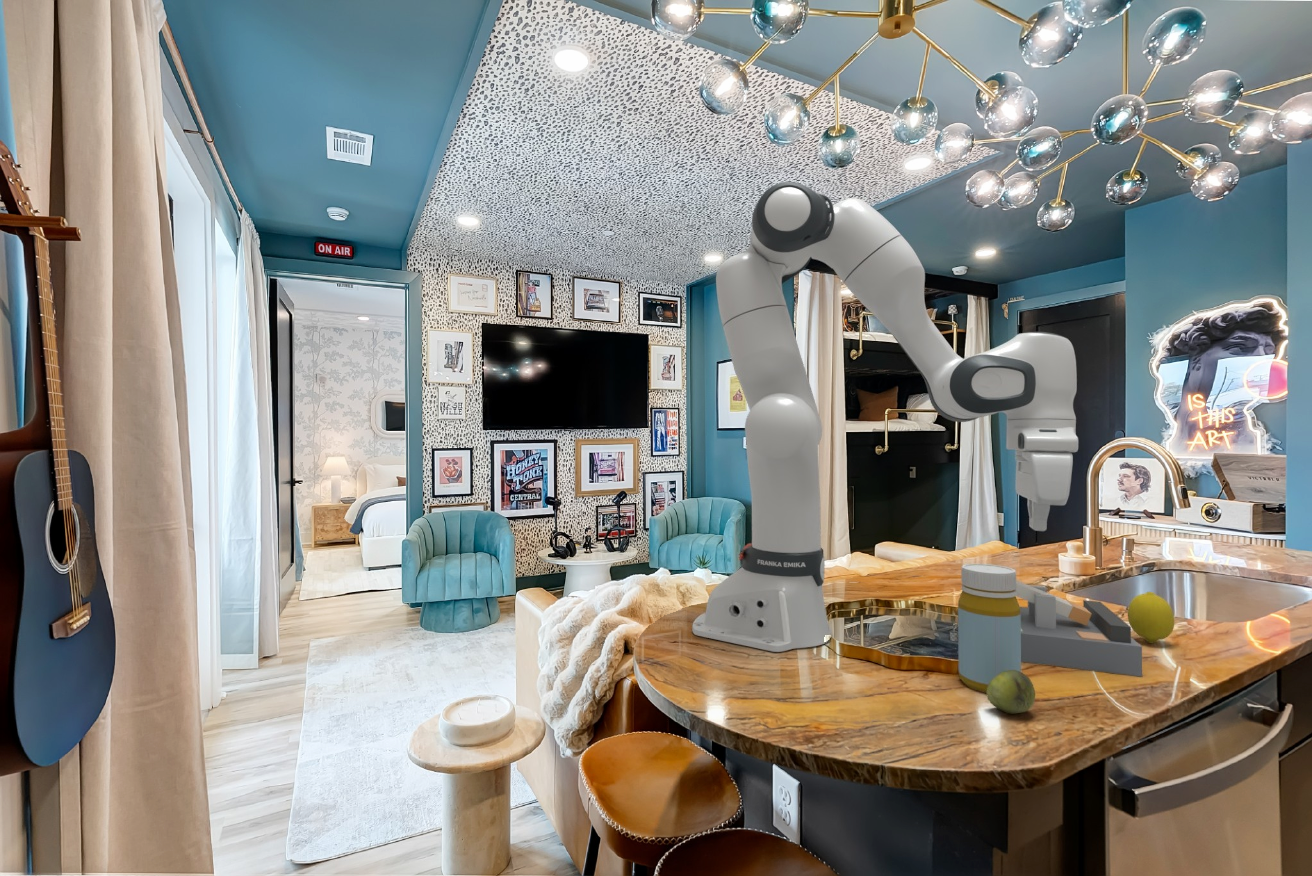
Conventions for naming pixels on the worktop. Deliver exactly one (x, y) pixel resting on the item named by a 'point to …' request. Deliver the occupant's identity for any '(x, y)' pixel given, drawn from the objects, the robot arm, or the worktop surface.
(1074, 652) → the low grey base tray
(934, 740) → the worktop surface
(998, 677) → the lime
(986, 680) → the bottle
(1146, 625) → the lemon
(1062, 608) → the lever
